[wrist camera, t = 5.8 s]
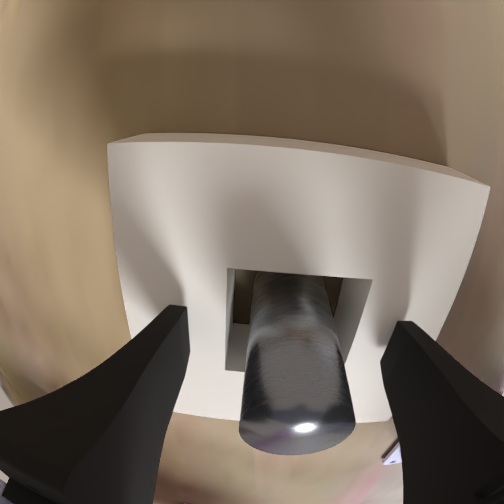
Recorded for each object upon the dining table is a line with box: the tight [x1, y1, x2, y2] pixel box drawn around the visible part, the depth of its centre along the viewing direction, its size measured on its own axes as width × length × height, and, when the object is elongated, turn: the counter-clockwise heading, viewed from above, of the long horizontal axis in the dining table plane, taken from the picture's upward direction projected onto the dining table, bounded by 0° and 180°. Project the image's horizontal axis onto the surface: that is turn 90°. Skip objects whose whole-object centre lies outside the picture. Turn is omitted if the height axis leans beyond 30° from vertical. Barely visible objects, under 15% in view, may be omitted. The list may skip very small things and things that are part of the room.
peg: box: [239, 271, 356, 455], centre depth 10 cm, size 3×3×7 cm
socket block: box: [107, 133, 490, 423], centre depth 12 cm, size 12×12×3 cm
